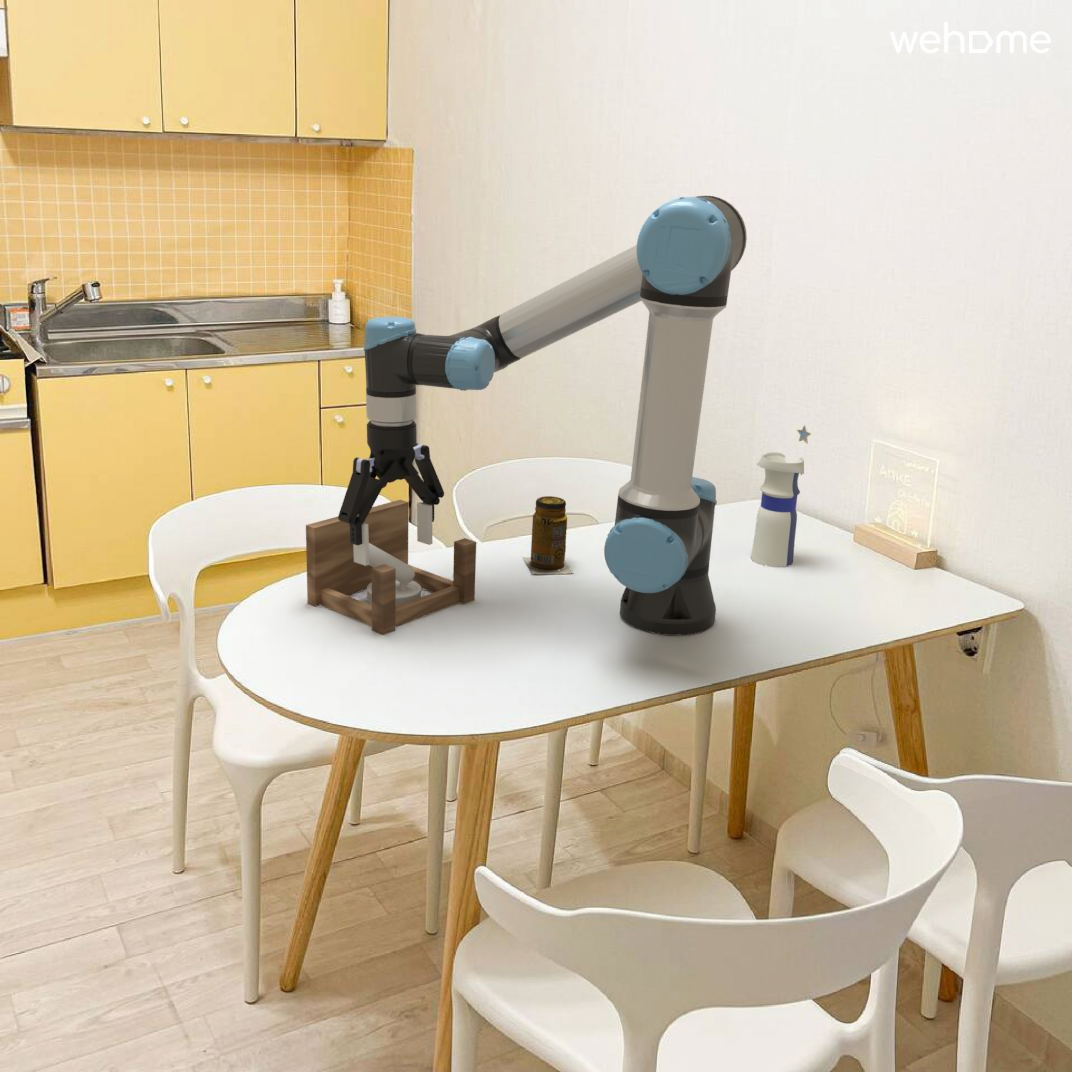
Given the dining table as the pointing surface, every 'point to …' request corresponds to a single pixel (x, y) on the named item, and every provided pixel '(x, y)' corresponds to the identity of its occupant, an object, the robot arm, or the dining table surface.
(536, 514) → the condiment
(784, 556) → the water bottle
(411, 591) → the wall hook
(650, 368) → the robot arm
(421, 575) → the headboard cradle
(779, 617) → the dining table surface
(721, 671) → the dining table surface
